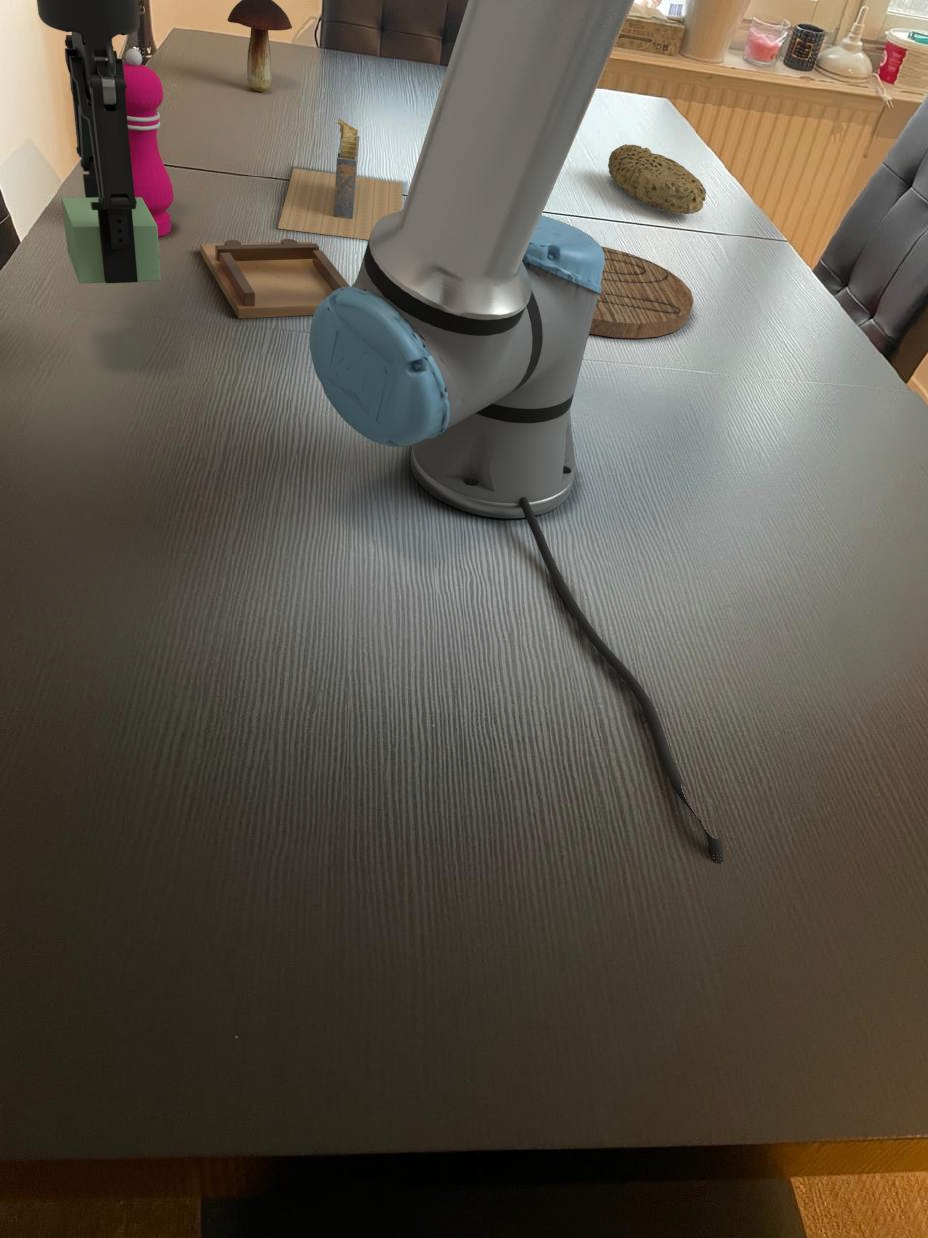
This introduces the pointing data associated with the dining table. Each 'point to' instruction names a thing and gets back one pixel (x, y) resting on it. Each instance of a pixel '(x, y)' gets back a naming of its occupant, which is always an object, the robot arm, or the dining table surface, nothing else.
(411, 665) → the dining table surface
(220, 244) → the wooden tray
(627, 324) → the trivet
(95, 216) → the green block
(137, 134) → the pepper mill
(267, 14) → the decorative mushroom
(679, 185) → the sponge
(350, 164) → the architectural model on board
